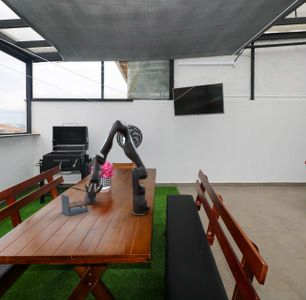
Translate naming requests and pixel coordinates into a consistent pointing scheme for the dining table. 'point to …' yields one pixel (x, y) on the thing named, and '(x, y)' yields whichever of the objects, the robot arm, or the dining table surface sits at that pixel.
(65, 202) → the grey u-shaped bracket
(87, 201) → the coffee pot
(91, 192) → the remote
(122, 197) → the dining table surface
